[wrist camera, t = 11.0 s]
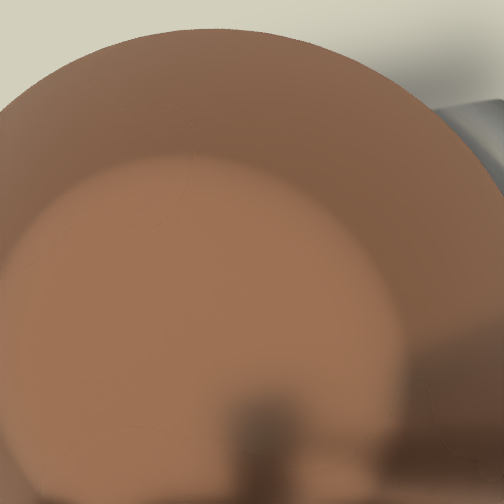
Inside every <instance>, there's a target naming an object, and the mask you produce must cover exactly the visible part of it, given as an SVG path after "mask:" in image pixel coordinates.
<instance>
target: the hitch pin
mask: <svg viewBox="0 0 504 504" xmlns="http://www.w3.org/2000/svg"><path fill="white" fill-rule="evenodd" d="M0 504H504V197H503V195H502V193H501V192H500V190H499V189H498V187H497V186H496V184H495V183H494V181H493V180H492V178H491V177H490V175H489V174H488V172H487V171H486V169H485V168H484V167H483V165H482V164H481V162H480V161H479V160H478V158H477V157H476V156H475V154H474V153H473V152H472V151H471V150H470V148H469V147H468V146H467V145H466V144H465V143H464V142H463V141H462V140H461V139H460V137H459V136H458V135H457V134H456V133H455V132H454V131H453V130H452V129H451V128H450V127H449V126H448V125H447V124H446V123H445V122H444V121H443V120H442V119H441V118H440V117H439V116H438V115H437V114H435V113H434V112H433V111H432V110H431V109H429V108H428V107H427V106H426V105H424V104H423V103H422V102H421V101H419V100H418V99H417V98H415V97H414V96H413V95H411V94H410V93H409V92H407V91H406V90H405V89H403V88H402V87H401V86H399V85H398V84H396V83H394V82H393V81H391V80H389V79H388V78H386V77H384V76H383V75H381V74H379V73H377V72H376V71H374V70H372V69H370V68H368V67H366V66H365V65H363V64H361V63H359V62H357V61H355V60H352V59H350V58H348V57H345V56H343V55H341V54H338V53H336V52H333V51H330V50H328V49H325V48H322V47H320V46H316V45H314V44H311V43H307V42H304V41H300V40H296V39H291V38H287V37H283V36H278V35H274V34H269V33H262V32H254V31H244V30H231V29H195V30H180V31H173V32H166V33H160V34H154V35H149V36H144V37H139V38H135V39H132V40H128V41H125V42H122V43H118V44H115V45H112V46H109V47H106V48H103V49H100V50H98V51H95V52H93V53H91V54H88V55H86V56H84V57H82V58H79V59H77V60H75V61H73V62H71V63H69V64H67V65H65V66H63V67H62V68H60V69H58V70H56V71H55V72H53V73H51V74H50V75H48V76H46V77H45V78H43V79H42V80H40V81H39V82H37V83H36V84H35V85H33V86H31V87H30V88H29V89H27V90H26V91H25V92H24V93H22V94H21V95H20V96H18V97H17V98H16V99H15V100H13V101H12V102H11V103H10V104H9V105H7V106H6V108H4V109H3V110H2V111H1V112H0Z"/></svg>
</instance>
